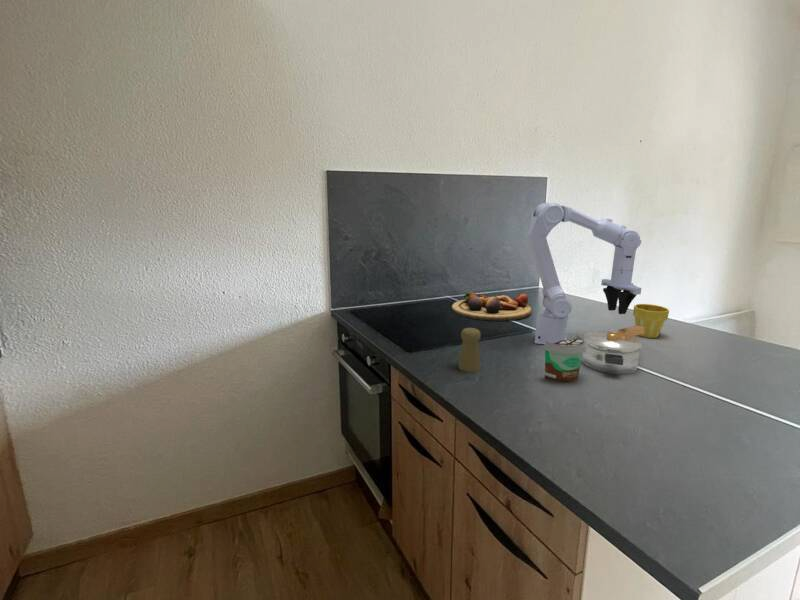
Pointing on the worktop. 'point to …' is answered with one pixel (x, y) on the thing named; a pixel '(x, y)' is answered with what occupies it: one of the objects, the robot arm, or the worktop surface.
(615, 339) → the lid
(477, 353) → the cork
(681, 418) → the worktop surface
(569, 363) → the food container
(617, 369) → the cooker pot
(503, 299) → the wooden plate with food
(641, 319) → the plant pot
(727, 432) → the worktop surface
